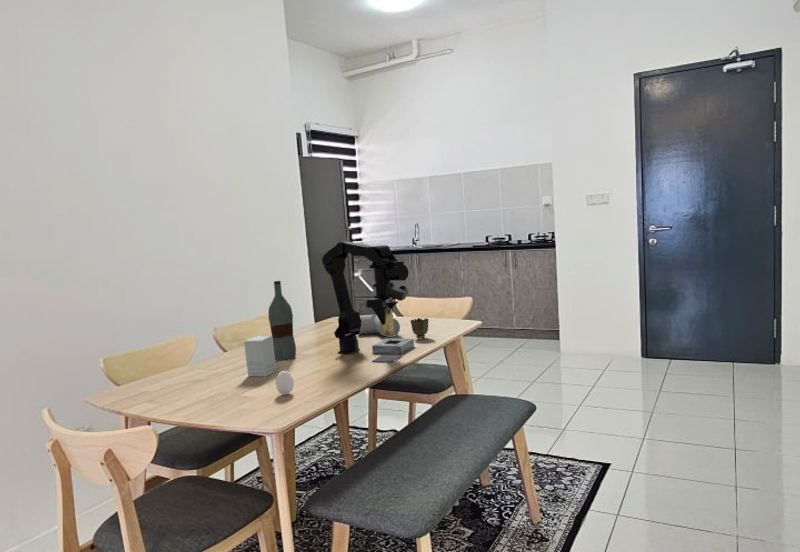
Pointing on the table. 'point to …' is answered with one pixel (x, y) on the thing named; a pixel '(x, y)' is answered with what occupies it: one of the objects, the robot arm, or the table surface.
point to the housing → (393, 345)
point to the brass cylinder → (388, 323)
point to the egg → (284, 382)
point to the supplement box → (260, 356)
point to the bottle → (281, 326)
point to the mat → (386, 358)
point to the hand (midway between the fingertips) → (386, 323)
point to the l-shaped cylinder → (375, 325)
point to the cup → (420, 327)
